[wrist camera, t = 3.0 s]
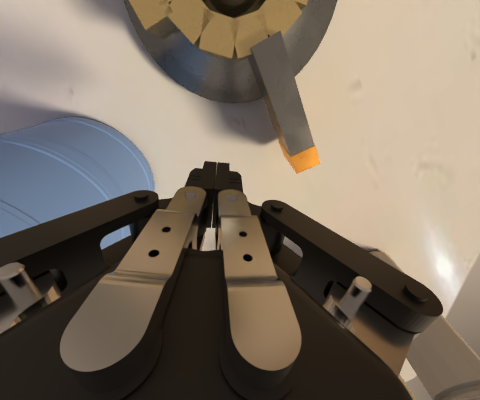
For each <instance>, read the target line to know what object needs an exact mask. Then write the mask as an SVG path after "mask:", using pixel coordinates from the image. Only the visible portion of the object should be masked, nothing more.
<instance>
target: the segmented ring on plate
mask: <svg viewBox="0 0 480 400" xmlns="http://www.w3.org/2000/svg"><path fill="white" fill-rule="evenodd" d="M129 2H130V3H131V5H132V7H133V9H134V11H135V12H136V14H137V16H138V18H139V20H140V21H141V23H142V25H143V27H144V28H145V30H146V31H148V32H150V33H152V34H153V35H155V36H157V37H159V38H160V39H162V40H164V39H165V38H167V37H169V36H170V35H172V34H173V33H175V32H176V31H178V30H179V29H180V30H181V32H182V33H183V34H184V35H185V36H186V37H187V38H188V39H189V40H190V41H191V42H192V44H193V45H194V46H196V47H197V48H198V49H199V50H200V51H202V52H203V53H205V54H206V55H210V56H213V57H216V58H219V59H222V60H226V61H229V62H231V61H232V56H233V51H234V55H235V59H236V62H238V61H241V60H244V59H247V58H248V60H249V63H250V66H251V68H252V71H253V74H254V76H255V79H256V82H257V84H258V87H259V89H260V92H261V95H262V97H263V100H264V103H265V105H266V108H267V111H268V113H269V116H270V118H271V121H272V124H273V126H274V129H275V132H276V134H277V137H278V139H279V143H280V146H281V149H282V151H283V154H284V156H285V158H286V159H287V160H288V162H289V163H290V165H291V166H292V168H293V169H294V170H295V172H296V173H300V172H302V171H304V170H306V169H309V168H311V167H313V166H316V165H318V164H320V161H319V157H318V154H317V150H316V147H315V145H314V143H313V139H312V136H311V132H310V129H309V125H308V122H307V119H306V115H305V112H304V108H303V105H302V102H301V98H300V95H299V91H298V88H297V85H296V81H295V78H294V74H293V71H292V68H291V64H290V61H289V57H288V54H287V51H286V47H285V44H284V40H283V37H282V36H283V35H284V34H285V32H286V31H287V30H288V29H289V28H290V27H291V25H292V24H293V23H294V22H295V21H296V20H297V18H298V17H299V16H300V15H301V14H302V12H301V10H302V9H303V8H304V7H305V6H306V5H307V2H308V0H266V1H265V2H264V3H263V5H262V6H261V7H260V9H259V10H257V11H255V12H252V13H249V14H246V15H243V16H240V17H238V18H235V19H234V18H231V17H228V16H225V15H222V14H219V13H216V12H213V11H211V10H209V9H208V7H207V6H206V5H205V4H204V3H203V1H202V0H129Z"/></svg>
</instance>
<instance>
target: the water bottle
mask: <svg viewBox="0 0 480 400" xmlns="http://www.w3.org/2000/svg"><path fill="white" fill-rule="evenodd" d="M369 253H371V254H372V255H374V256H376V257H377V258H379V259H381V260H382V261H384V262H386V263H387V264H389V265H391V266H393V267H394V268H396V269H398V270H399V271H401V272H403V271H402V270H401V269H400V268H399V267H398V266H397V265H396V264H395V262H394V261H393V260H392V259H391V258H390V257H389V256H388V255H387V254H385V253H384V252H378V251H371V252H369ZM403 273H404V272H403ZM406 358H407V360H408V361H409V363H410V364H411V366H412V368H413V369H414V371H415V372H416V374H417V376H418V377H419V379H420V380H421V382H422V383H423V385H424V387H425V388H426V390H427V391H428V393H429V395H430V396H431V398H432V399H433V400H480V358H479V356H478V355H477V354H476V353H475V352H474V351H473V350H472V349H471V348H470V347H469V345H468V344H467V343H466V342H465V341H464V340H463V339H462V337H461V336H460V335H459V334H458V333H457V332H456V331H455V330H454V328H453V327H452V326H451V325H450V324H449V323H448V322H447V321H446V320H445V318H444V317H443V316H442V315H440V316H439V317H438V318H437V319H436V320H435V321H434V322H433V323H432V324H431V325H430V326H429V327H427V328H426V329H425V330H424V331H423V332H422V333H421V334H420V335H419V336H418V337H417V338H416V339H415V340H414V341H413V342H412V343H411V345H410V348H409V350H408V353H407V355H406Z"/></svg>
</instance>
